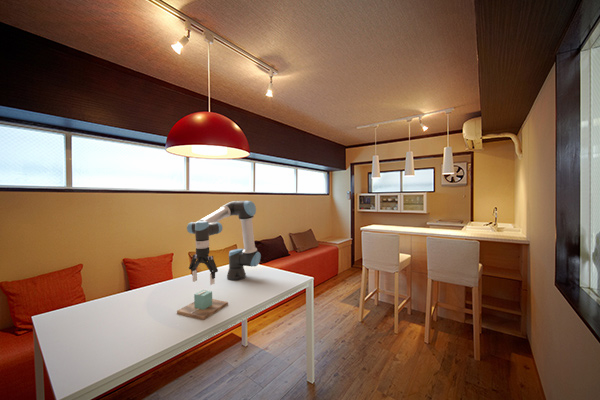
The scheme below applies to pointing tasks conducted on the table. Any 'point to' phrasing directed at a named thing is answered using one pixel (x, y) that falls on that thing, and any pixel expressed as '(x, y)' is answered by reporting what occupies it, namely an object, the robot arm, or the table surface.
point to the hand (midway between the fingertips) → (203, 282)
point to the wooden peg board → (201, 313)
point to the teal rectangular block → (203, 299)
